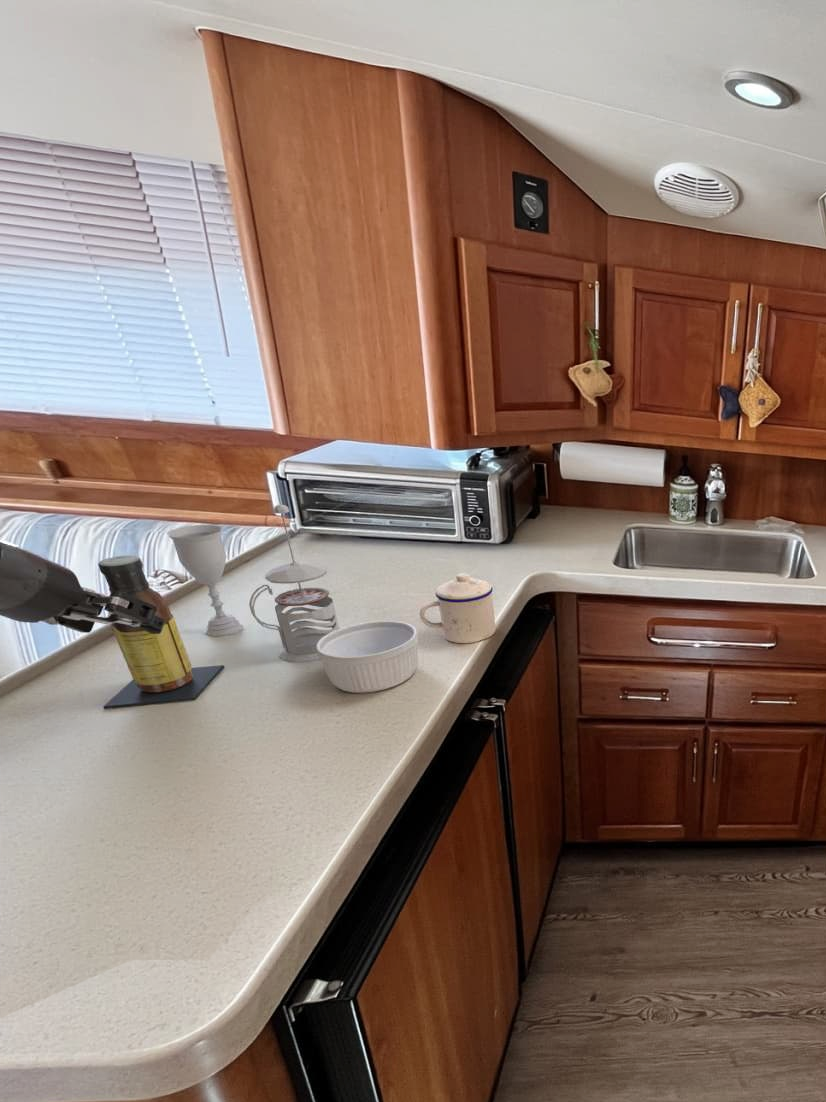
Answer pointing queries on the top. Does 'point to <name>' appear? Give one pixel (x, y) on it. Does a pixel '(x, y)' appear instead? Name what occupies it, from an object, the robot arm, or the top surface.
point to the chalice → (205, 568)
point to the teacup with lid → (463, 610)
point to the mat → (184, 693)
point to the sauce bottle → (147, 655)
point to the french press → (303, 639)
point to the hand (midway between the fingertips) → (125, 626)
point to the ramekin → (369, 655)
